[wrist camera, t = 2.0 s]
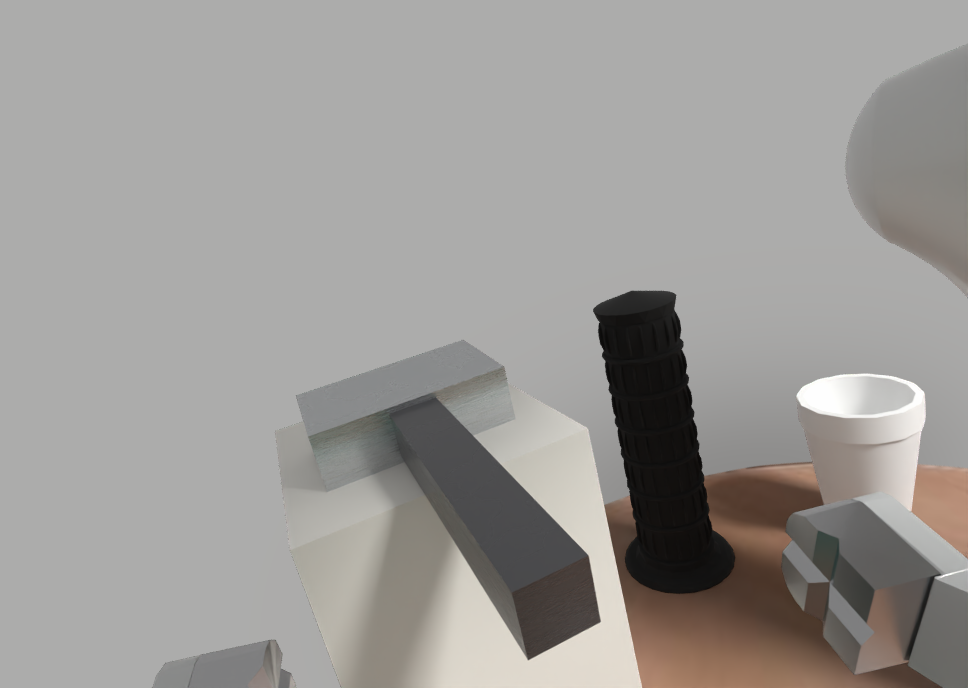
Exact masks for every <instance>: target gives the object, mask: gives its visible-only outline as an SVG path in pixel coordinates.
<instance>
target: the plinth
mask: <svg viewBox="0 0 968 688" xmlns="http://www.w3.org/2000/svg"><path fill="white" fill-rule="evenodd" d="M508 387H509V391H510V396H511V401H512V405H513V410H514V415H515V420H512V421H509V422H507V423H504V424H502V425H499V426H497V427H494V428H491V429H489V430H486V431H484V432H481V433H478V434H476V435H473V436H474V437H475V438H476V439H477V440H478V441H479V442H480V443H481V444H482V445H483V447H484V448H485V449H486V450H487V451H488V452H489V453H490V454H491V455H492V456H493V457H494V458H495V459H496V460H497V461H498V462H499V463H500V464H501V465H502V466H503V467H504V468H505V469H506V470H507V471H508V472H509V473H510V474H511V475H512V477H513V478H514V479H515V480H516V481H517V482H518V483H519V484H520V485H521V486H522V487H523V488H524V489H525V490H526V491H527V492H528V493H529V494H530V495H531V496H532V497H533V498H534V499H535V500H536V501H537V502H538V503H539V504H540V506H541V507H542V508H543V509H544V510H545V511H546V512H547V513H548V514H549V515H550V516H551V517H552V518H553V519H554V520H555V521H556V522H557V523H558V524H559V525H560V526H561V527H562V528H563V529H564V530H565V531H566V532H567V533H568V535H569V536H570V537H571V538H572V539H573V540H574V541H575V542H576V543H577V544H578V545H579V546H580V547H581V548H582V549H583V550H584V551H585V552H586V553H587V554H588V555H589V560H590V565H591V571H592V576H593V582H594V587H595V592H596V598H597V603H598V609H599V614H600V620H601V622H600V623H598V624H596V625H594V626H593V627H591V628H589V629H587V630H585V631H583V632H581V633H579V634H577V635H576V636H574V637H572V638H570V639H568V640H566V641H564V642H562V643H560V644H558V645H557V646H555V647H553V648H551V649H549V650H547V651H545V652H543V653H541V654H539V655H538V656H536V657H534V658H532V659H530V660H527V658H526V656H525V655H524V653H523V651H522V650H521V648H520V647H519V645H518V643H517V642H516V640H515V639H514V637H513V635H512V634H511V632H510V631H509V629H508V627H507V626H506V624H505V623H504V621H503V619H502V618H501V616H500V615H499V613H498V611H497V610H496V608H495V606H494V605H493V603H492V602H491V600H490V598H489V597H488V595H487V594H486V592H485V590H484V589H483V587H482V586H481V584H480V582H479V581H478V579H477V578H476V576H475V574H474V573H473V571H472V570H471V568H470V566H469V565H468V563H467V561H466V560H465V558H464V557H463V555H462V553H461V552H460V550H459V549H458V547H457V545H456V544H455V542H454V541H453V539H452V537H451V536H450V534H449V533H448V531H447V529H446V528H445V526H444V525H443V523H442V521H441V520H440V518H439V517H438V515H437V513H436V512H435V510H434V508H433V507H432V505H431V504H430V502H429V500H428V499H427V497H426V496H425V494H424V492H423V491H422V489H421V488H420V486H419V484H418V483H417V481H416V480H415V478H414V476H413V475H412V473H411V472H410V470H409V468H408V467H407V465H406V463H405V462H404V463H401V464H398V465H396V466H393V467H391V468H388V469H386V470H383V471H380V472H378V473H375V474H373V475H370V476H368V477H365V478H362V479H360V480H357V481H355V482H352V483H349V484H347V485H344V486H342V487H339V488H337V489H334V490H331V491H329V492H327V490H326V487H325V484H324V481H323V479H322V476H321V473H320V470H319V467H318V464H317V461H316V458H315V455H314V453H313V450H312V447H311V444H310V441H309V438H308V435H307V432H306V428H305V425H304V422H300V423H297V424H294V425H291V426H288V427H286V428H283V429H280V430H277V431H275V435H276V443H277V450H278V459H279V467H280V475H281V483H282V491H283V499H284V507H285V516H286V523H287V532H288V540H289V548H290V552H291V555H292V558H293V560H294V562H295V566H296V568H297V571H298V574H299V576H300V579H301V582H302V584H303V587H304V590H305V592H306V595H307V598H308V600H309V603H310V606H311V608H312V611H313V614H314V616H315V619H316V622H317V625H318V627H319V630H320V632H321V635H322V638H323V641H324V643H325V646H326V649H327V651H328V654H329V657H330V659H331V662H332V665H333V667H334V670H335V673H336V675H337V678H338V681H339V683H340V686H341V688H642V685H641V681H640V676H639V671H638V666H637V661H636V657H635V652H634V647H633V642H632V637H631V633H630V628H629V623H628V618H627V613H626V609H625V604H624V599H623V594H622V589H621V585H620V580H619V575H618V570H617V566H616V561H615V556H614V551H613V546H612V542H611V537H610V532H609V527H608V522H607V518H606V513H605V508H604V503H603V499H602V494H601V489H600V484H599V479H598V475H597V470H596V465H595V460H594V456H593V450H592V446H591V441H590V436H589V431H588V428H586V427H585V426H583V425H581V424H579V423H578V422H576V421H574V420H572V419H570V418H569V417H567V416H565V415H563V414H562V413H560V412H558V411H556V410H554V409H553V408H551V407H549V406H547V405H546V404H544V403H542V402H540V401H539V400H537V399H535V398H533V397H531V396H530V395H528V394H526V393H525V392H523V391H521V390H519V389H518V388H516V387H514V386H512V385H510V384H509V383H508Z"/></svg>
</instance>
